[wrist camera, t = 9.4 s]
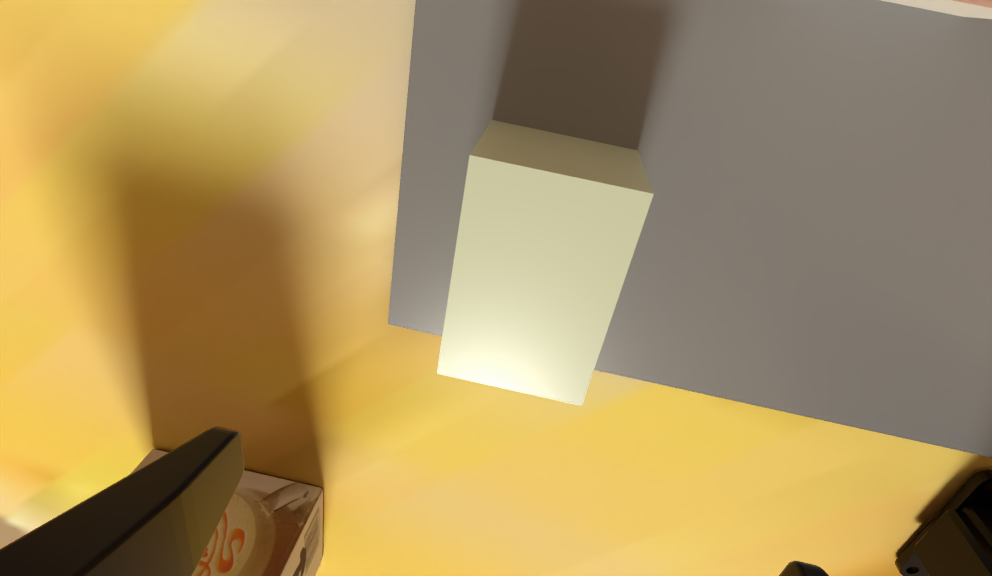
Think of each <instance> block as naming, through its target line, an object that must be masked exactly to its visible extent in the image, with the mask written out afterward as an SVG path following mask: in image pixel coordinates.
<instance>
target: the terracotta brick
mask: <svg viewBox="0 0 992 576" xmlns="http://www.w3.org/2000/svg"><path fill="white" fill-rule="evenodd" d="M952 1H957V2H963V3H968V4H973V5H978V6H983V7H988V8H992V0H952Z"/></svg>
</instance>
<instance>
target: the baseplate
mask: <svg viewBox="0 0 992 576" xmlns="http://www.w3.org/2000/svg"><path fill="white" fill-rule="evenodd" d="M491 120H495V121H500V122H504V123H509V124H514V125H519V126H523V127H528V128H533V129H538V130H543V131H547V132H552V133H557V134H562V135H566V136H571V137H576V138H581V139H586V140H590V141H595V142H600V143H605V144H609V145H614V146H619V147H624V148H629V149H633V150H638V153H639V155H640V158H641V161H642V163H643V166H644V169H645V172H646V174H647V177H648V180H649V182H650V185H651V188H652V190H653V193H654V195H653V198H652V201H651V204H650V207H649V210H648V213H647V215H646V218H645V221H644V224H643V227H642V230H641V233H640V236H639V239H638V242H637V245H636V248H635V251H634V254H633V257H632V259H631V262H630V265H629V268H628V271H627V274H626V277H625V280H624V283H623V286H622V289H621V292H620V295H619V298H618V301H617V304H616V306H615V309H614V312H613V315H612V318H611V321H610V324H609V327H608V330H607V333H606V336H605V339H604V342H603V345H602V348H601V351H600V353H599V356H598V359H597V362H596V365H595V368H594V370H598V371H602V372H607V373H611V374H616V375H620V376H625V377H629V378H634V379H638V380H643V381H648V382H652V383H657V384H661V385H666V386H670V387H675V388H679V389H684V390H688V391H693V392H697V393H702V394H706V395H711V396H715V397H720V398H725V399H729V400H734V401H738V402H743V403H747V404H752V405H756V406H761V407H765V408H770V409H774V410H779V411H783V412H788V413H792V414H797V415H802V416H806V417H811V418H815V419H820V420H824V421H829V422H833V423H838V424H842V425H847V426H851V427H856V428H860V429H865V430H869V431H874V432H879V433H883V434H888V435H892V436H897V437H901V438H906V439H910V440H915V441H919V442H924V443H928V444H933V445H937V446H942V447H946V448H951V449H956V450H960V451H965V452H969V453H974V454H978V455H983V456H987V457H992V8H988V7H983V6H978V5H973V4H968V3H963V2H957V1H952V0H416V4H415V16H414V28H413V39H412V51H411V62H410V74H409V86H408V97H407V109H406V121H405V132H404V144H403V156H402V167H401V179H400V190H399V202H398V214H397V225H396V237H395V249H394V260H393V272H392V284H391V295H390V307H389V319H388V324H389V325H394V326H398V327H403V328H408V329H412V330H417V331H421V332H426V333H430V334H435V335H439V336H442V335H443V328H444V322H445V315H446V308H447V302H448V295H449V288H450V282H451V275H452V269H453V262H454V255H455V249H456V242H457V235H458V229H459V222H460V215H461V209H462V202H463V195H464V189H465V182H466V175H467V169H468V162H469V156H470V154H471V152H472V150H473V149H474V147H475V146H476V144H477V142H478V141H479V139H480V138H481V136H482V135H483V133H484V131H485V130H486V128H487V127H488V125H489V123H490V122H491Z"/></svg>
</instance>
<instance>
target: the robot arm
mask: <svg viewBox="0 0 992 576" xmlns="http://www.w3.org/2000/svg"><path fill="white" fill-rule="evenodd" d="M243 471H244V454H243V443H242V436H241V434H240V433H239V432H238V431H236V430H231V429H227V428H223V427H213V428H211V429H209V430H207V431H205V432H203V433H202V434H200V435H198V436H196V437H195V438H193V439H191V440H189V441H188V442H186V443H184V444H182V445H181V446H179V447H177V448H175V449H174V450H172V451H170V452H168V453H167V454H165V455H163V456H162V457H160V458H158V459H156V460H155V461H153V462H151V463H149V464H148V465H146V466H144V467H142V468H141V469H139V470H137V471H135V472H134V473H132V474H130V475H128V476H127V477H125V478H123V479H121V480H120V481H118V482H116V483H115V484H113V485H111V486H109V487H108V488H106V489H104V490H102V491H101V492H99V493H97V494H95V495H94V496H92V497H90V498H88V499H87V500H85V501H83V502H81V503H80V504H78V505H76V506H74V507H73V508H71V509H69V510H68V511H66V512H64V513H62V514H61V515H59V516H57V517H55V518H54V519H52V520H50V521H48V522H47V523H45V524H43V525H41V526H40V527H38V528H36V529H34V530H33V531H31V532H29V533H28V534H26V535H24V536H22V537H21V538H19V539H17V540H15V541H14V542H12V543H10V544H8V545H7V546H5V547H3V548H2V549H0V576H192V575H193V573H194V571H195V569H196V568H197V566H198V564H199V562H200V560H201V558H202V556H203V554H204V552H205V550H206V548H207V546H208V544H209V542H210V540H211V538H212V536H213V534H214V532H215V530H216V528H217V526H218V524H219V522H220V520H221V518H222V516H223V514H224V512H225V510H226V508H227V506H228V504H229V502H230V500H231V498H232V496H233V494H234V492H235V490H236V488H237V486H238V484H239V482H240V480H241V478H242V475H243ZM895 565H896V567H897V568H898V570H899V572H900V574H902V575H903V576H992V471H991V470H986V471H981V472H979V473H977V474H975V475H974V476H973V477H972V478H971V479H970V480H969V481H968V482H967V483H966V484H965V485H964V486H963V488H962V489H961V490H960V491H959V492H958V493H957V494H956V495H955V496H954V497H953V498H952V499H951V501H950V502H949V503H948V504H947V505H946V506H945V507H944V508H943V509H942V510H941V511H940V513H939V514H938V515H937V516H936V517H935V518H934V519H933V520H932V521H931V522H930V523H929V525H928V526H927V527H926V528H925V529H924V530H923V531H922V532H921V533H920V534H919V535H918V536H917V538H916V539H915V540H914V541H913V542H912V543H911V544H910V545H909V546H908V547H907V548H906V550H905V551H904V552H903V553H902V554H901V555H900V556H899V557H898V558H897V559H896V561H895ZM779 576H829V575H828V574H827V573H826V572H825V571H824V570H823V569H822V568H820V567H818V566H816V565H812V564H808V563H804V562H800V561H792V562H790V563H789V564H788V565H787V566H786V567H785V569H784V570H783V571H782V573H781V574H780V575H779Z"/></svg>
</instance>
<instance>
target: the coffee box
mask: <svg viewBox="0 0 992 576" xmlns="http://www.w3.org/2000/svg"><path fill="white" fill-rule="evenodd" d="M167 453H168V452H165V451H161V450H155V449H153V450H152V451H151V452H150V453H149V454H148V455H147V456H146V457H145V458H144V459H143V461H142V462H141V463H140V464H139V465H138V466H137V467H136V468H135V470H134V471H133V472H132V473H134V472H135V471H137V470H139V469H141V468H142V467H144V466H146V465H148V464H149V463H151V462H153V461H155V460H156V459H158V458H160V457H162V456H163V455H165V454H167ZM132 473H131V474H132ZM322 555H323V490H322V489H321V488H320V487H316V486H311V485H307V484H303V483H299V482H294V481H290V480H285V479H281V478H277V477H272V476H268V475H264V474H259V473H255V472H251V471H246V470H244V471H243V475H242V478H241V480H240V482H239V484H238V486H237V488H236V490H235V492H234V494H233V496H232V498H231V500H230V502H229V504H228V506H227V508H226V510H225V512H224V514H223V516H222V518H221V520H220V522H219V524H218V526H217V528H216V530H215V532H214V534H213V536H212V538H211V540H210V542H209V544H208V546H207V548H206V550H205V552H204V554H203V556H202V558H201V560H200V562H199V564H198V566H197V568H196V569H195V571H194V573H193V575H192V576H315V575H316V572H317V570H318V568H319V566H320V563H321V560H322Z"/></svg>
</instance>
